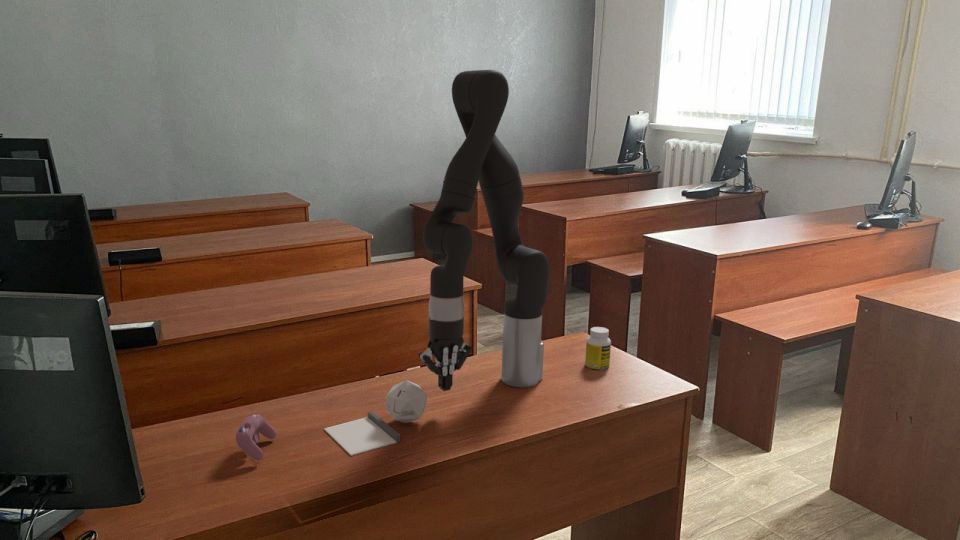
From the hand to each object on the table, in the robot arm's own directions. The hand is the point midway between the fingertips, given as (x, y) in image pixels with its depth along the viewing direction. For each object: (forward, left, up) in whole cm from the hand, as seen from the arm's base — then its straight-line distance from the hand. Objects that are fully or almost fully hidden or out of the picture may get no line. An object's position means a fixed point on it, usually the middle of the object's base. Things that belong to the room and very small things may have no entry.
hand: (445, 389), depth 158 cm
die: (+10, 0, -6) cm, 11 cm away
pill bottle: (-46, 0, -6) cm, 47 cm away
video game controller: (+40, -5, -6) cm, 40 cm away
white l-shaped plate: (+21, 0, -6) cm, 21 cm away
